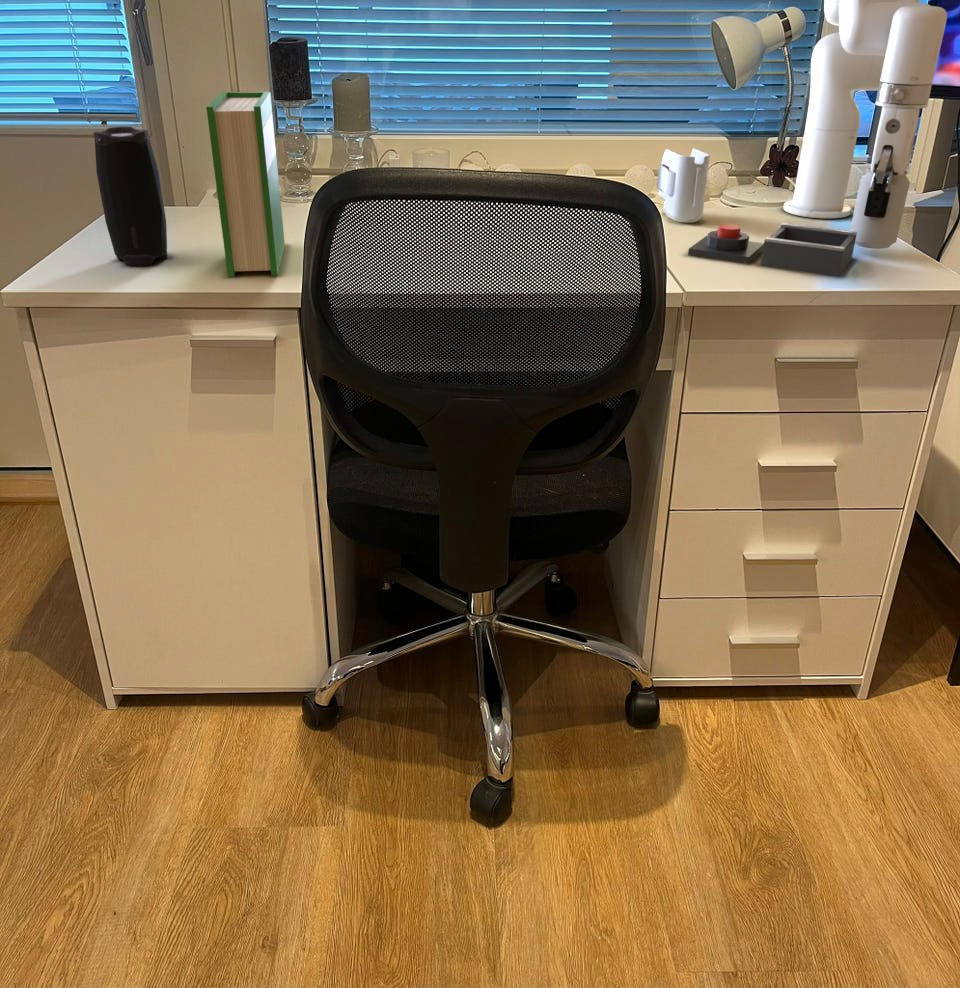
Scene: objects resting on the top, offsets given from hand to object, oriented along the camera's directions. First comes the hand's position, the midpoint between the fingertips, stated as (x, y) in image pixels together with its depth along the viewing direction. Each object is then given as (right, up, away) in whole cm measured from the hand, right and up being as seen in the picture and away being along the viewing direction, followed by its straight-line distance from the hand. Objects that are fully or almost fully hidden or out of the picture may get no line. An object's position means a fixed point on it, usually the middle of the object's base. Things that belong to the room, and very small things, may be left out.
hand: (878, 211), depth 153 cm
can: (0, -5, +3) cm, 6 cm away
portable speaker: (-119, -9, -4) cm, 120 cm away
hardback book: (-101, -9, -3) cm, 101 cm away
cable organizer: (-27, +6, +25) cm, 38 cm away
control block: (-24, -6, +3) cm, 25 cm away
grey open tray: (-12, -9, -2) cm, 15 cm away
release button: (-24, -4, +2) cm, 25 cm away
